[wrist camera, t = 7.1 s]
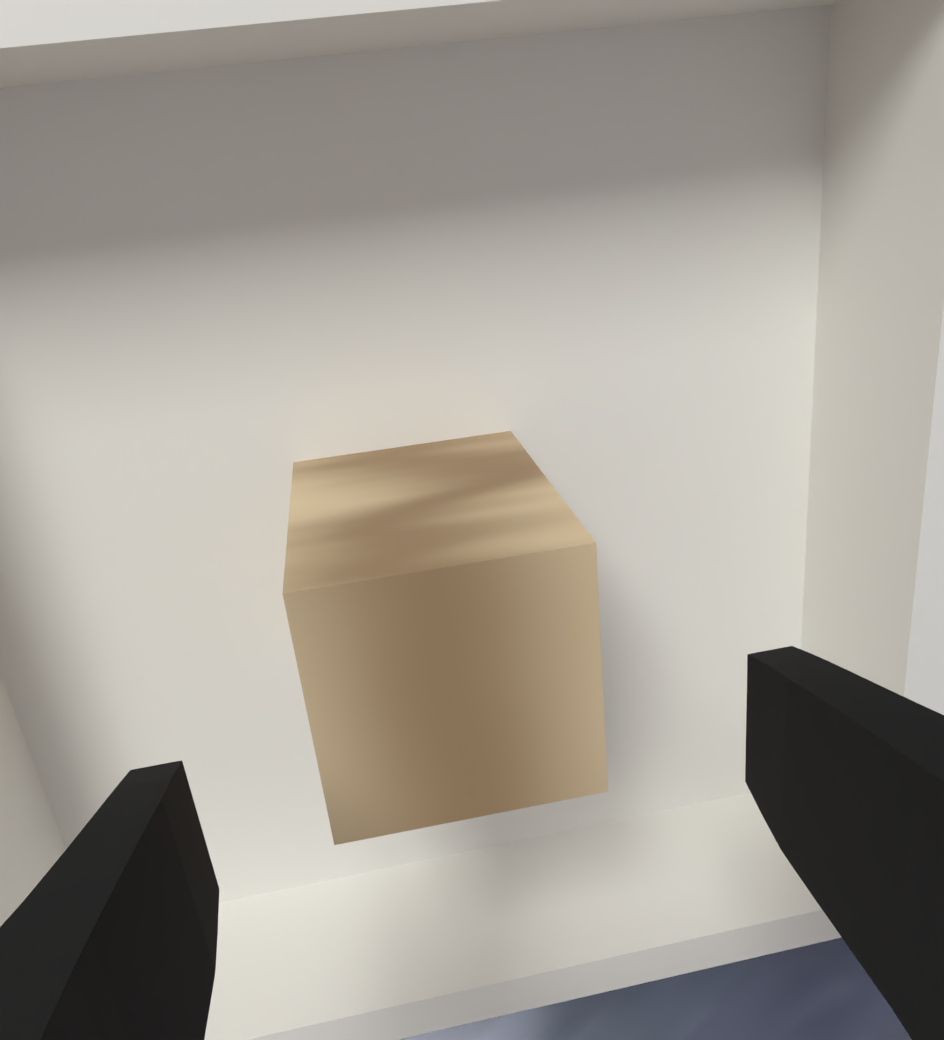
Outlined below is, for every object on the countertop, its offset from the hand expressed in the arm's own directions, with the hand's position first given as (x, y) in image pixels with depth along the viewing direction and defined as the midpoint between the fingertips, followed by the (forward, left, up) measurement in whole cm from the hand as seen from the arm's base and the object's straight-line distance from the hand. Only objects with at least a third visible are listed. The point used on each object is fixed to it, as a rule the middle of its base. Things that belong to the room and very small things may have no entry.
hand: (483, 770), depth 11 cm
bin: (0, 0, -9) cm, 9 cm away
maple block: (0, 0, -8) cm, 8 cm away
